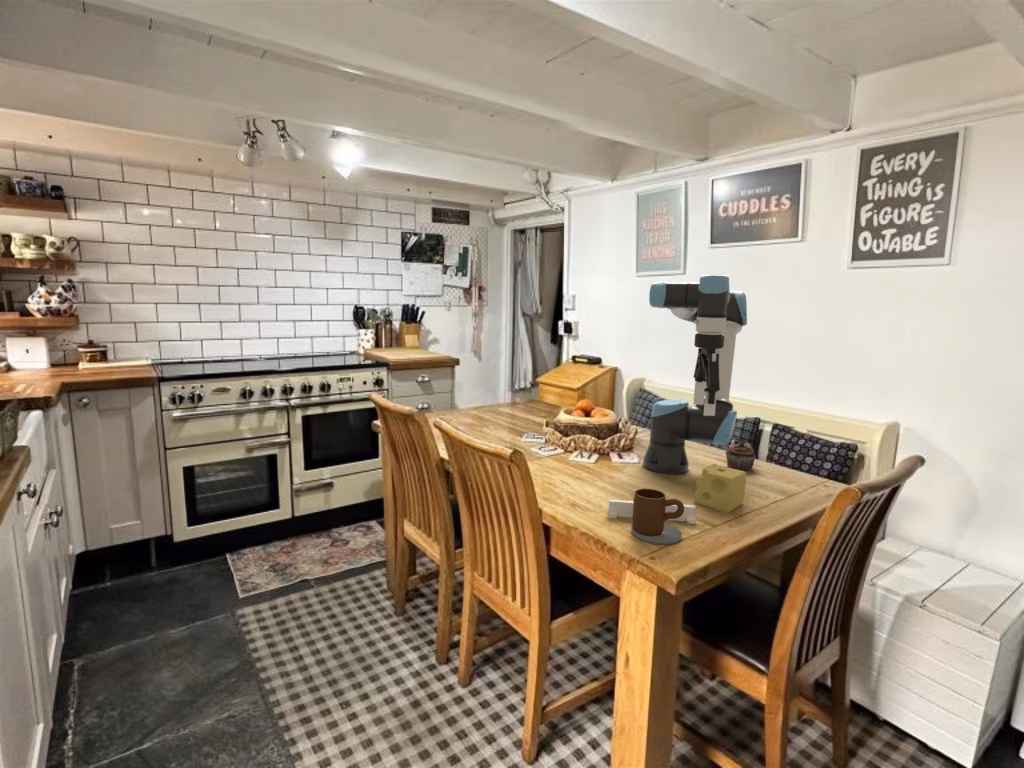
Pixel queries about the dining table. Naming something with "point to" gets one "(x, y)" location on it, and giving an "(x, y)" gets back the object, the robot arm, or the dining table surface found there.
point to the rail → (626, 510)
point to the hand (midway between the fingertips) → (703, 409)
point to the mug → (653, 511)
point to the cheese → (720, 488)
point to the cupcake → (740, 455)
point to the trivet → (661, 536)
